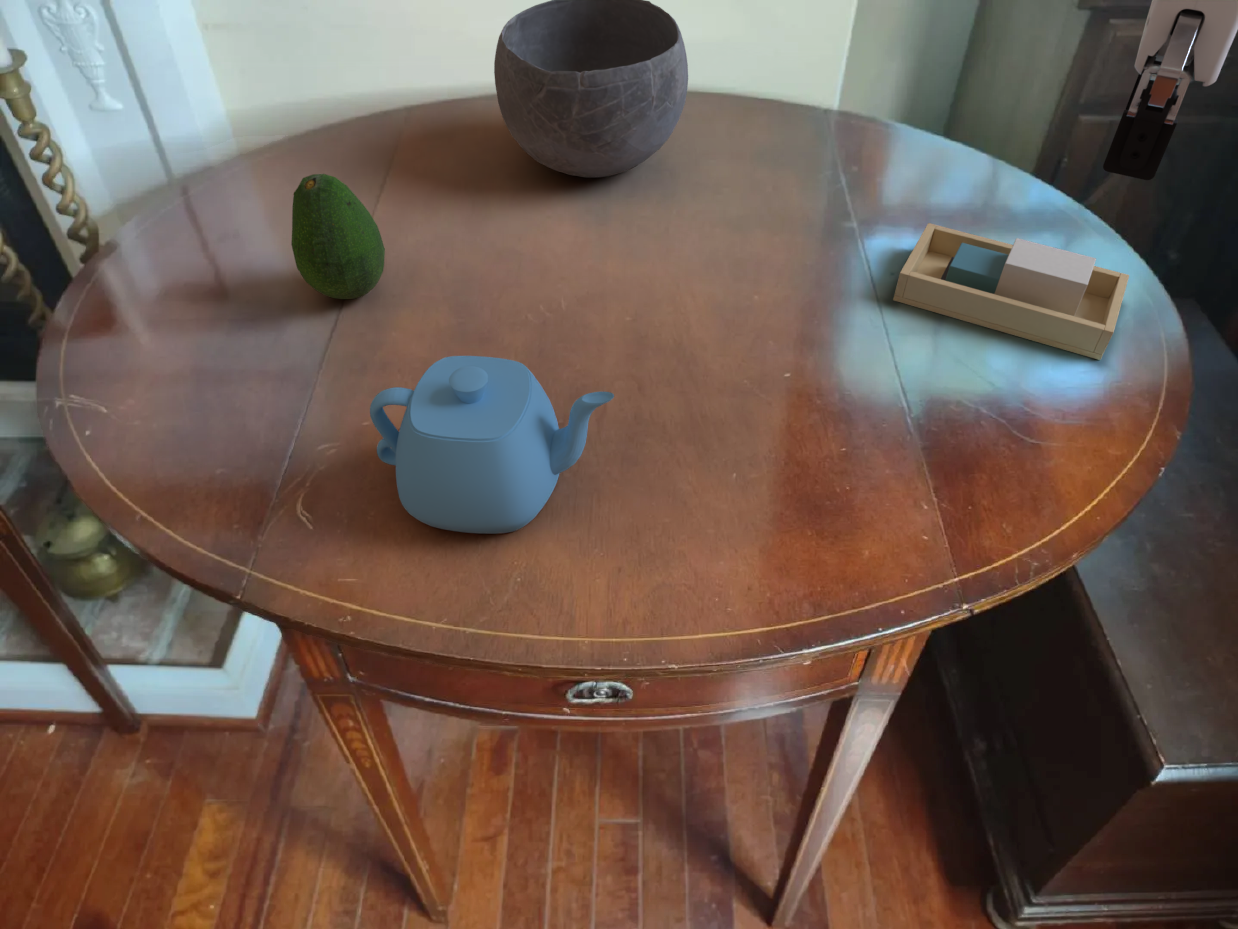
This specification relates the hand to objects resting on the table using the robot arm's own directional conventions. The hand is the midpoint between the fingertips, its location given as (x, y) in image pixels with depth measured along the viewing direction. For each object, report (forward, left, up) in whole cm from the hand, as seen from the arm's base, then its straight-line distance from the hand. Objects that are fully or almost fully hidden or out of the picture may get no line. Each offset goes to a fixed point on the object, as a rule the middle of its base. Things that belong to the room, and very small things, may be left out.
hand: (1137, 143), depth 66 cm
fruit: (+60, +19, -21) cm, 66 cm away
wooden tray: (+5, -9, -21) cm, 24 cm away
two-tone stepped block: (+5, -9, -21) cm, 23 cm away
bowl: (+52, -14, -21) cm, 58 cm away
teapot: (+34, +33, -21) cm, 52 cm away
